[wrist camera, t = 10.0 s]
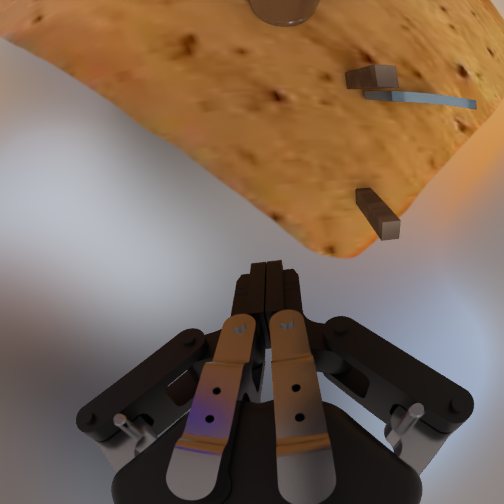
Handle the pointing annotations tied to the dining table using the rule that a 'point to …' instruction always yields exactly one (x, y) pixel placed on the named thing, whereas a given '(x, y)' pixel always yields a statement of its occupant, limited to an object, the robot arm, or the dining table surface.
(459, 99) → the gate leaf
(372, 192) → the gate posts
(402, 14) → the dining table surface
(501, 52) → the dining table surface
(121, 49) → the dining table surface
